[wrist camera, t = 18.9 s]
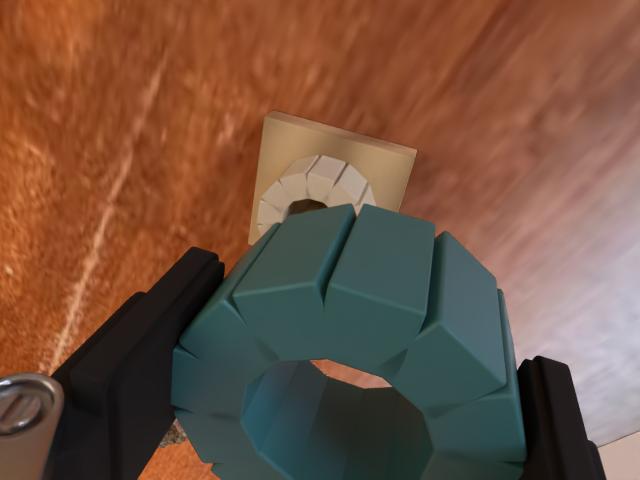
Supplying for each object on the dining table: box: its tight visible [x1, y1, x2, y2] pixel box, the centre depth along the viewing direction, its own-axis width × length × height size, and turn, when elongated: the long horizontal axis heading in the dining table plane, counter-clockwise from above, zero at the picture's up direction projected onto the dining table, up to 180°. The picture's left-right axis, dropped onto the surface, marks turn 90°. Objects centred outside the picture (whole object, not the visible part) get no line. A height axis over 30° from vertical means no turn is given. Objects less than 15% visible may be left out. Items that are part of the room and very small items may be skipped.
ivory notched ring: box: [257, 155, 376, 237], centre depth 29 cm, size 6×6×3 cm
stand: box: [248, 110, 417, 246], centre depth 27 cm, size 9×9×10 cm
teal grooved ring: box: [171, 203, 528, 480], centre depth 10 cm, size 6×6×3 cm
